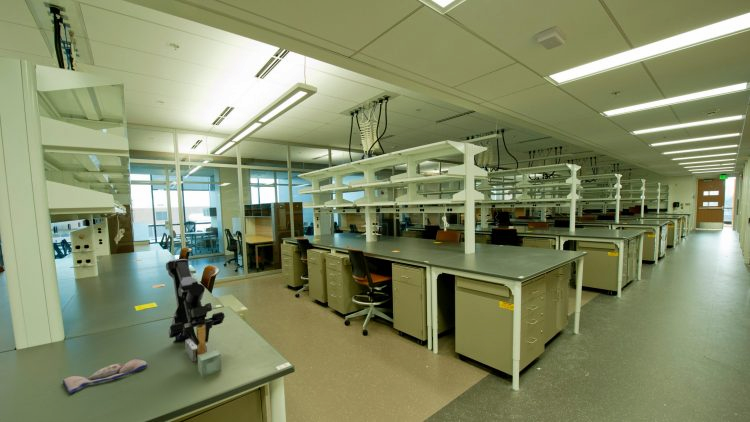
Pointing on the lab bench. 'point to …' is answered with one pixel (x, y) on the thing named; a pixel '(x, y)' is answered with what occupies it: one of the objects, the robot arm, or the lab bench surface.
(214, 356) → the green socket
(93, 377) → the anatomical model
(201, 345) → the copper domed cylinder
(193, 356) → the aluminium sleeve
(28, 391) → the lab bench surface
